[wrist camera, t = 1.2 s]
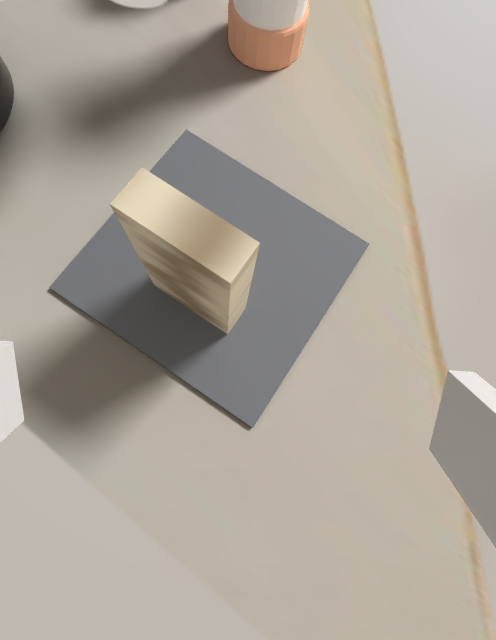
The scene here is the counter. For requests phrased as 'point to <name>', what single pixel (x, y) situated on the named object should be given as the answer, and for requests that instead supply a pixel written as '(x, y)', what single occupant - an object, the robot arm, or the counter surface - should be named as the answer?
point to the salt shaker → (267, 31)
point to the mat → (264, 295)
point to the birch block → (188, 249)
